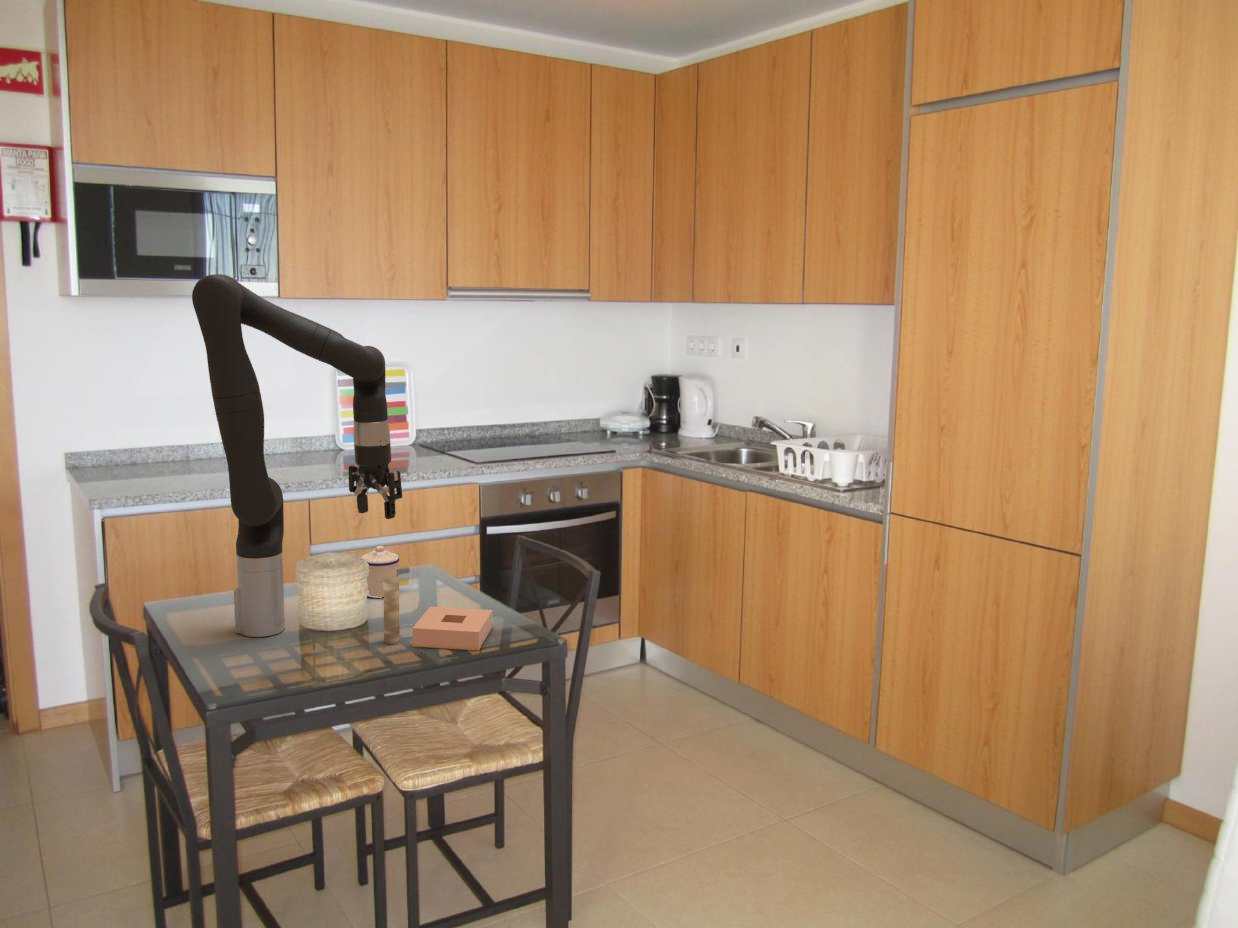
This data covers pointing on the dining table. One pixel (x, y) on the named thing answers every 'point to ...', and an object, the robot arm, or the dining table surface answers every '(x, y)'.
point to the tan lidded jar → (380, 569)
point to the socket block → (452, 628)
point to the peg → (391, 609)
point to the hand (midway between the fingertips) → (376, 515)
